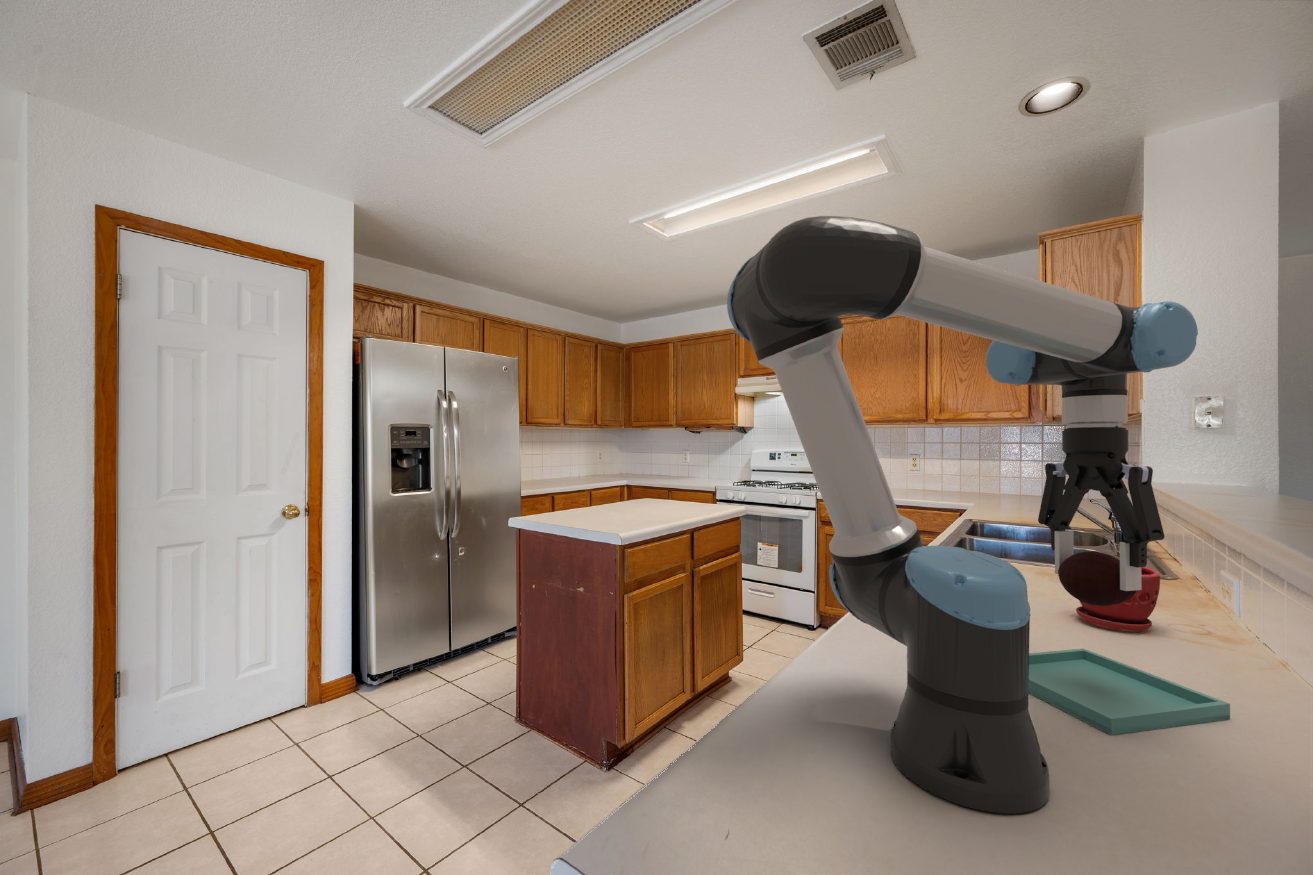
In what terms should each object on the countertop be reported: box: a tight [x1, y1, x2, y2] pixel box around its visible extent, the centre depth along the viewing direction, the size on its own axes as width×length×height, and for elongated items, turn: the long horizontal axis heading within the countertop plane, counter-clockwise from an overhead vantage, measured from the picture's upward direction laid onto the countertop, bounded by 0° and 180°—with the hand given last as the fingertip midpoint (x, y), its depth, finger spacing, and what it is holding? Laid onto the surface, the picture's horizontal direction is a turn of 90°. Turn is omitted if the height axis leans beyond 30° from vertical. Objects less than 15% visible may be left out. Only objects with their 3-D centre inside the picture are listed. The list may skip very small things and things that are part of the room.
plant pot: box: [1075, 567, 1161, 633], centre depth 108 cm, size 13×13×12 cm
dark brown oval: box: [1057, 550, 1137, 606], centre depth 79 cm, size 8×9×8 cm
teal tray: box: [1028, 648, 1231, 736], centre depth 78 cm, size 20×20×2 cm
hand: (1095, 581), depth 79 cm, fingers closed on dark brown oval, 9 cm apart
